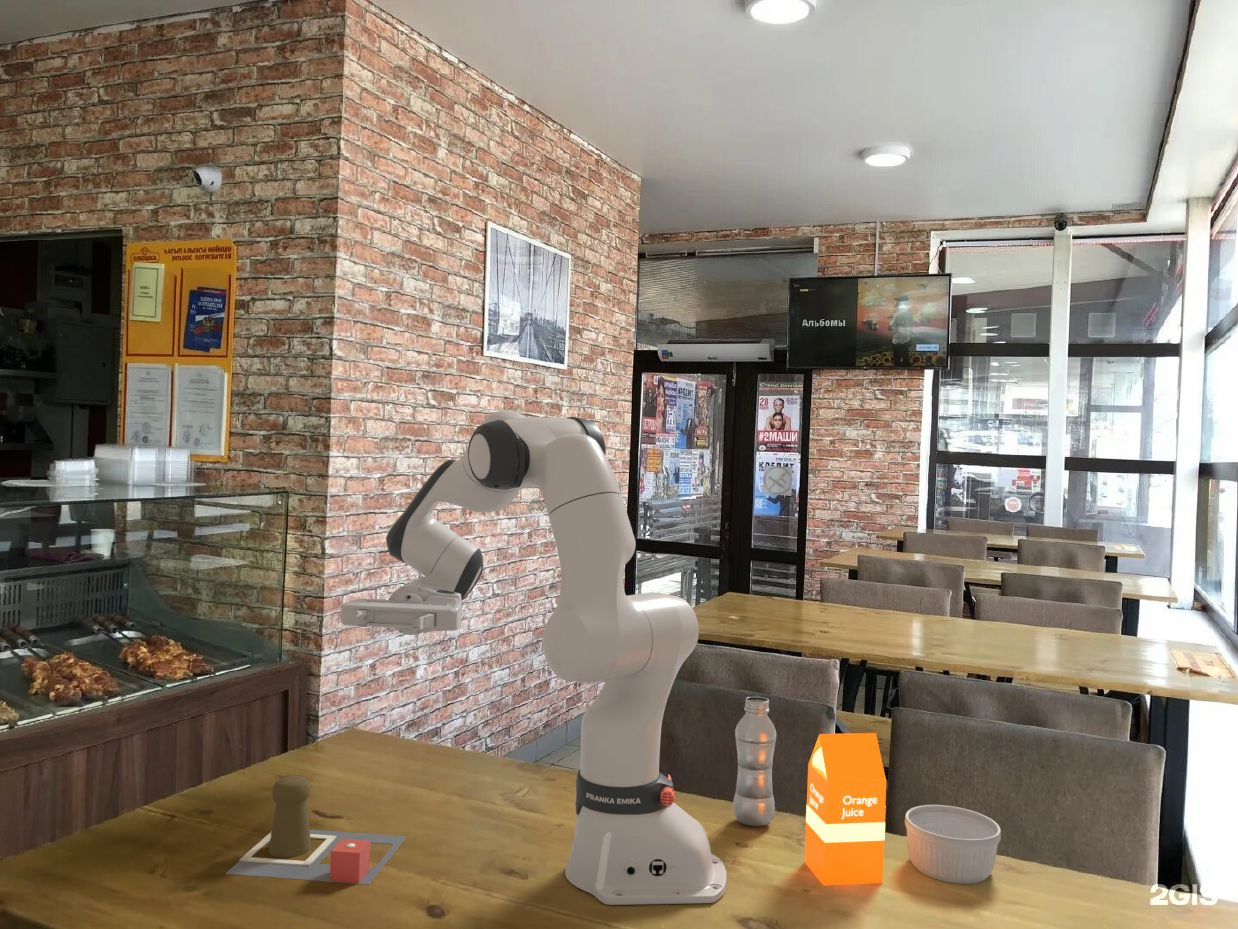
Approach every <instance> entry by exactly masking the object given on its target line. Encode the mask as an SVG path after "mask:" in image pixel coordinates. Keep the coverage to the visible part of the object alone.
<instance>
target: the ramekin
mask: <svg viewBox="0 0 1238 929" xmlns="http://www.w3.org/2000/svg"><path fill="white" fill-rule="evenodd" d="M904 817H905V818H904V825H905V828H906V839H907V840H906V841H907V851H908V852H907V853H908V858H909V860H910V862H911V864H912V865H913V866H914V868H915V869H916V870H918V871H919V872H920V873H922V874H924V875H925V876H928V877H929V878H932V879H935V880H937V881H938V880H939V881H941V882H944V883H945V882H946V883H951V884H957V885H958V884H959V885H960V884H961V885H967V884H968V885H971V884H977V883H981V882H983V881H985V880H986V879H987V878H988V877H990V875H992V873H993V870H994V868H995V863H996V858H997V853H998V847H999V843H1000V842H1001V838H1002V836H1001V835H1002V834H1001V833H1002V829H1001V827H1000V825H999V824H998V823H997V822H996V821H995V820H993V818H991V817H988V816H986V815H985V814H982V813H980V812H977V811H974V810H971V809H967V808H963V807H958V806H952V805H943V804H942V805H941V804H924V805H919V806H914V807H911V808H910V809H908V810H907V811H906V813H905V816H904Z"/></svg>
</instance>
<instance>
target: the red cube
mask: <svg viewBox="0 0 1238 929" xmlns="http://www.w3.org/2000/svg"><path fill="white" fill-rule="evenodd" d="M329 858H330V881H341V882H354V883H359V882H360V881H361V880H362V879H363V877H364V876H365V875H366V874H367V872H368V871H369V868H370V867H371V866H370V865H371V864H370V862H371V861H370V860H371V843H370V841H363V840H349V839H341V841H340V842H339V843H338V844H337V845H336V846H335V847H334V848H333V849H332V850H331V851H330V857H329Z"/></svg>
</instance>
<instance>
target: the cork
mask: <svg viewBox="0 0 1238 929" xmlns="http://www.w3.org/2000/svg"><path fill="white" fill-rule="evenodd" d="M271 793H272V799H273V801H275V808H274V815H273V821H272V822H273V823H272V828H271V831H272V833H271V839H270V841H269V846H268V853H269V855H271V856H273V857H276V858H282V859H283V858H285V859H286V858H294V857H300V856H302V855H304V854H307V853H308V852H310V851H311V850H312V839H311V838H310V830H311V829H310V822H309V813H308V806H307V805H308V804H307V800H308V799H309V797H310V795H311V794H310V793H311V783H310V781H309V780H308V778H306V777H305V776H302V775H287V776H283V777H281V778H279V779H277V780H276V781H275V782H274V784H273V786H272V792H271Z"/></svg>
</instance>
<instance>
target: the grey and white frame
mask: <svg viewBox="0 0 1238 929" xmlns="http://www.w3.org/2000/svg"><path fill="white" fill-rule="evenodd" d="M271 833H272V830H271V831H270V832H269V833H268V834H267V835H266V836H264V838H262V839H260V841H259V842H258V843H256V844H255V845H254V846H253V847H252V848H251V849H250V850H248V851H247V852H246V853H245V854H244V855H243V856H242V857H241V858H239V861H237V863H235V865H232V867H231V868H230V869H229V870H227V871H226V873H224V875H233V876H234V875H235V876H244V877H245V876H247V877H248V876H249V877H261V878H274V879H286V880H287V879H289V880H300V881H301V880H302V881H314V882H315V881H316V882H326V883H327V882H330V883H343V884H353V885H354V884H355V885H357V884H358V885H368V886H369V885H370V884H371V883H372V882H374V879H375V878H376V877H377V875H378V874H379V873H380V872H381V870H382V869H383V868H384V867H385V865H386V864H387V863H388V862H389V860H390V858H391V857H392V856H393V855H394V854H395V853H396V851H397V850H398V848H399V847H400V846H401V844H402V843H403V842H404V840H405V839H406V838H407V836H406V835H395V834H394V835H393V834H392V835H391V834H379V833H378V834H377V833H367V832H365V833H364V832H363V833H362V832H351V831H350V832H348V831H335V830H334V831H333V830H319V829H317V830H316V829H310V838H311V840H324V841H322V843H321V844H320V845H319V846H318V847H317V848H316V849H315V850H314V851H313V852H312V853H311V854H310V856H308V858H307V859H305V860H295V859H294V860H293V859H283V858H282V859H281V858H269V857H268V858H267V857H254V856H255V855H256V854H257V853H258V852H259V851H260V850H261V849H262V848H263V847H265V846H266V844H268V843H270V839H271ZM341 839H349V840H363V841H370V844H382V845H383V844H384V845H392V846H391V847H390V848H389V849H388V850H387V852H386V853H384V854H385V855H383V856H382V858H381V860H380V861H378V863H377V865H376V866H375V867H373V866H370V868H369V871H368V872H367V874H366V875H365V876H364V877H363V879H362V880H361V881H360V882H359V883H354V882H341V881H330V864H328V863H322V861H323V860H324V859H325V858H326V857H327V856H328V855H329V854H331V850H332V849H333V848H334V847H335V846H336V845H337V844H338V843H339V842H340V841H341Z"/></svg>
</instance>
